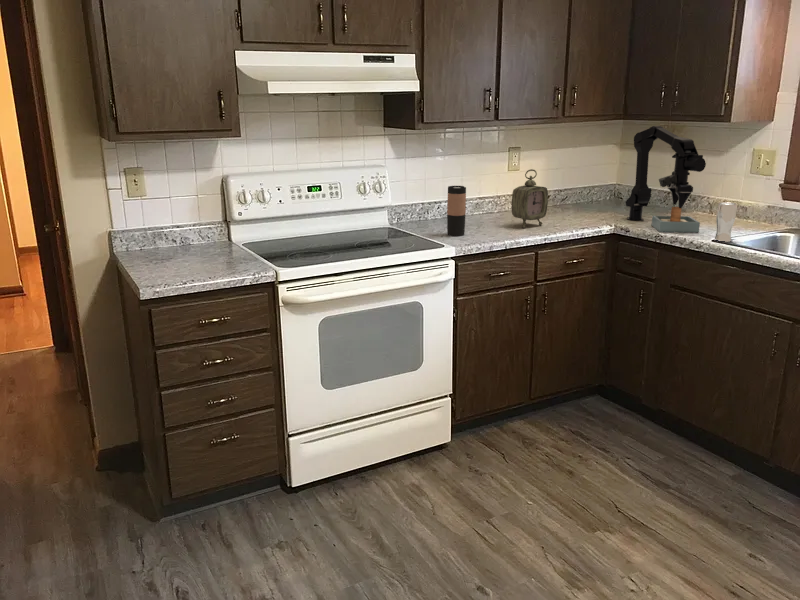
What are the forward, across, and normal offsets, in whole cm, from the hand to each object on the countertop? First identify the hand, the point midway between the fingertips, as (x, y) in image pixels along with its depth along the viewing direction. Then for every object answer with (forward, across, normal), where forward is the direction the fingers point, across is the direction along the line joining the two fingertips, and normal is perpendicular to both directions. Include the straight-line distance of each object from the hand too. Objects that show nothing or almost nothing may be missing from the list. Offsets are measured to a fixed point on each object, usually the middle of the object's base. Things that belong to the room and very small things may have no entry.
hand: (677, 206), depth 294 cm
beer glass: (+10, +22, +13) cm, 28 cm away
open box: (+10, 0, 0) cm, 10 cm away
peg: (+10, 0, 0) cm, 10 cm away
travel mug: (+10, +22, -94) cm, 97 cm away
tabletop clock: (+10, -1, -63) cm, 64 cm away
